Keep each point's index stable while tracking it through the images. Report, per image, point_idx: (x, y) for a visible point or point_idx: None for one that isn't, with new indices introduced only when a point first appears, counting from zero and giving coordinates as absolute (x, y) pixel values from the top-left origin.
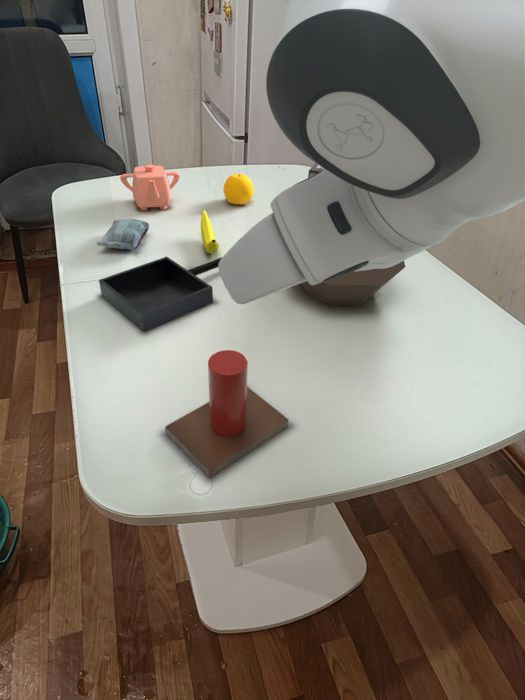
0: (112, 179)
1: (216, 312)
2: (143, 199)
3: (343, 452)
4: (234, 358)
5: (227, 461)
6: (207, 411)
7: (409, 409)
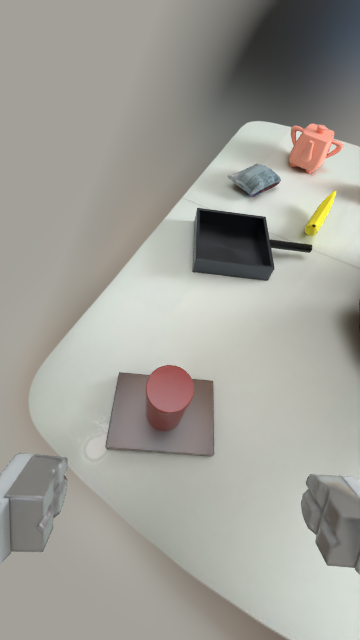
0: None
1: (261, 291)
2: (296, 156)
3: (232, 535)
4: (180, 388)
5: (128, 449)
6: None
7: None
